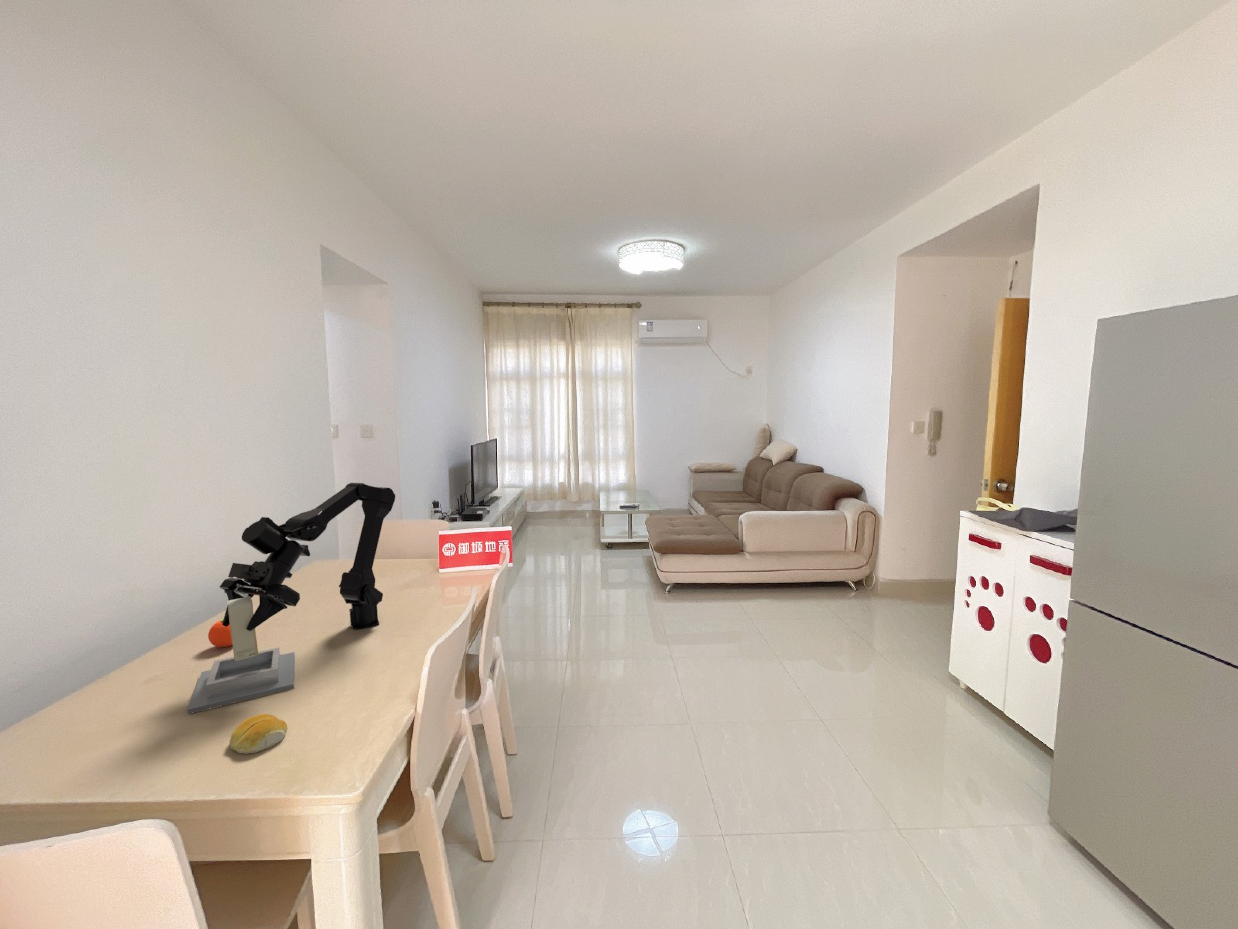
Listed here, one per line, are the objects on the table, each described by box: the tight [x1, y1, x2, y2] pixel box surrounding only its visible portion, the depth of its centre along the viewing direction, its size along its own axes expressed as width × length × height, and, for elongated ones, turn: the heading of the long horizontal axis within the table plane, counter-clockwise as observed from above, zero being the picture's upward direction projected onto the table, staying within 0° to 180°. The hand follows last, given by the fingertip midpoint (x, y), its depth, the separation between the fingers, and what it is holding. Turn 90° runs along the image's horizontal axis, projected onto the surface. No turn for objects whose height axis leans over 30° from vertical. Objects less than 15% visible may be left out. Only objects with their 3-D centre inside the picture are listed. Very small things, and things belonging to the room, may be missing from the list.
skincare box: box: [226, 596, 259, 662], centre depth 115 cm, size 6×4×12 cm
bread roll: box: [229, 713, 289, 755], centre depth 95 cm, size 8×9×4 cm
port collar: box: [206, 647, 281, 699], centre depth 116 cm, size 12×12×3 cm
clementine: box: [207, 618, 233, 648], centre depth 135 cm, size 8×7×7 cm
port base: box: [187, 651, 296, 715], centre depth 116 cm, size 18×18×1 cm
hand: (236, 628), depth 114 cm, fingers closed on skincare box, 7 cm apart
